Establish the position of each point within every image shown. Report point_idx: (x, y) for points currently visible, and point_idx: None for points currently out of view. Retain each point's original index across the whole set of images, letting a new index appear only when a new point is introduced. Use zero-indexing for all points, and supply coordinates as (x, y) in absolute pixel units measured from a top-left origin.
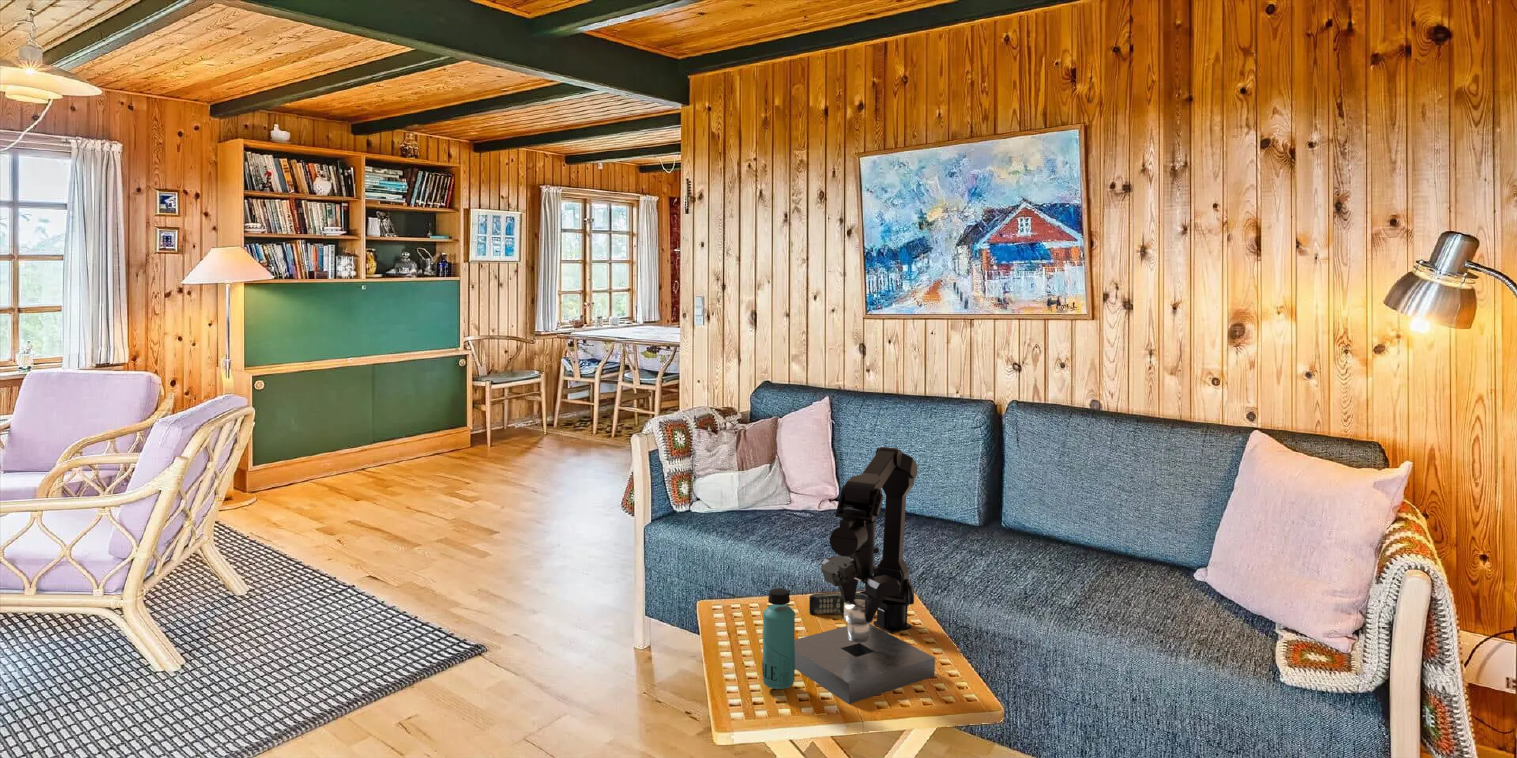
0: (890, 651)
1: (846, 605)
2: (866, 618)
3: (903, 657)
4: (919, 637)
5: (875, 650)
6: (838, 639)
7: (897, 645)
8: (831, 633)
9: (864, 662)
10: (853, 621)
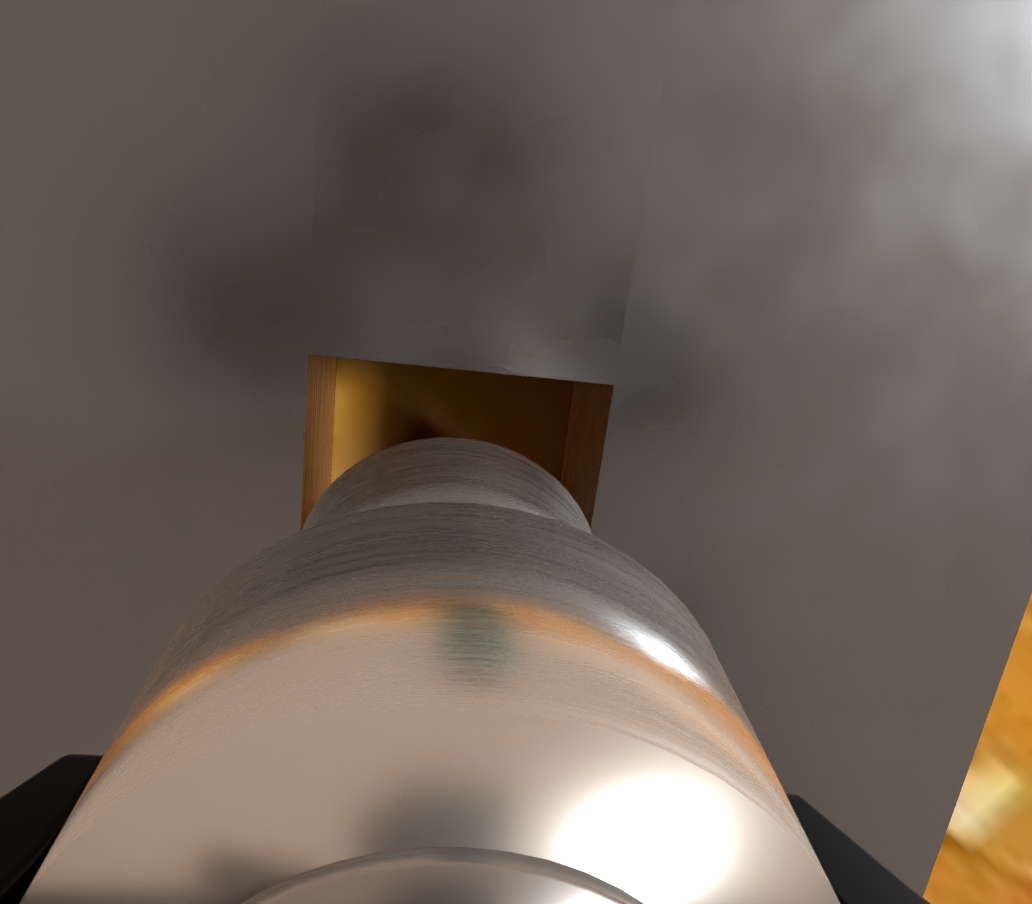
0: None
1: (637, 799)
2: (43, 801)
3: (6, 750)
4: None
5: None
6: (797, 532)
7: None
8: (958, 579)
9: (123, 325)
10: (288, 558)
